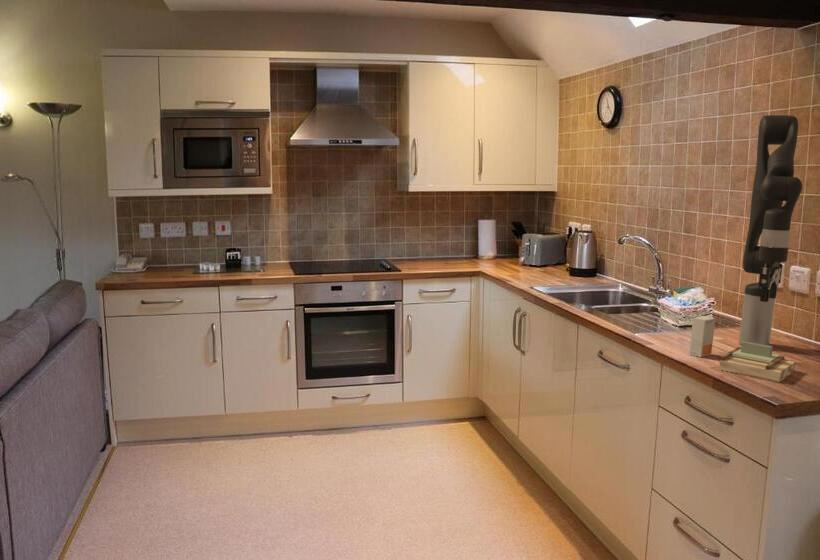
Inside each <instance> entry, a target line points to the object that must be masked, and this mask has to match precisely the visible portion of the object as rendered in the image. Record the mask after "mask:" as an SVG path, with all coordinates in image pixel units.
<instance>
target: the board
mask: <svg viewBox="0 0 820 560" xmlns="http://www.w3.org/2000/svg"><path fill="white" fill-rule="evenodd" d="M739 349H741V347H739V346H738V347H736V348H734V349H732V350H730V351H729V352H726V353H725V354H723V355H721V356H720V358H719V366H718V370H719V371H721V370H723V371H722V372H726V371H728V372H727V373H730V372H733V373H732V374H735V373H737V374H736V375H741V376H745V377H748V378H749V377H751V378H755V379H759V380H765V381H768V382H772V383H773V382H774V383H778V384H779V383H780V382H782V381H783V380H785V379H786V378H787V377H789V376H790V375H791V374H793V373H794V372H795V369H796V361H795V360H790V359H785V357H786V356H785V355H780V357H778V358H777V359H775V360H774V361H772V362H771V363H765V362H760V361H755V360H750V359H745V358H740V357H735V356H732V353H734V352H735V351H737V350H739Z"/></svg>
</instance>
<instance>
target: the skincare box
mask: <svg viewBox="0 0 820 560" xmlns="http://www.w3.org/2000/svg"><path fill="white" fill-rule="evenodd" d="M715 324H716V317H711V316H707V315H702V316H700V315H699V316H696V317H693V318H692V326H691V334H690V335H691V336H690V343H689V351H688V354H689V355H690V356H695V357H697V356H698V358H703V357H707V356H712V351H713V343H714V336H715V326H716V325H715Z"/></svg>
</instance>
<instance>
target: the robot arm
mask: <svg viewBox="0 0 820 560" xmlns="http://www.w3.org/2000/svg"><path fill="white" fill-rule="evenodd" d="M759 121H760V122H759V125H758V134H757V148H756V165H755V174H754V180H753V185H752V191H751V202H750V214H749V223H748V228H747V229H748V231H747V234H746V235H747V236H746V241H745V246H744V251H743V257H742V268H743V271H744V272H745V273H748V274H754V275H755V274H756V275H759V277H758V278H759V280H758V282H754V283H752V282H751V283H749V284H746V285H745V287H744V294H743V305H742V313H741V320H740V321H741V322H740V330H739V331H740V332H739V339H738V344H739V345H741V344H742V342H743V341H746V342H751V343H757V344H762V345H768V346H771V345H770V342H771V337H772V335H771V334H772V329H773V328H772V327H773V319H774V310H775V302H776V298H777V292H778V287H779V285H780V284H781V282H782V281H781V280H782V274H783V273H782V272H783V266H784V264H783V263H787V261H788V256H789V247H790V240H791V238H790V237H791V236H790V232H791V222H792V215H793V212H794V209H795V207H796V204H797V202H798V200H799V198H800V196H801V193H802V190H803V182H802V181H801V180H800V178H798V177H795V176H794V174H795V163H794V161H795V160H794V159H795V158H794V157H795V154H796V148H797V142H798V136H799V135H798V134H799V120H798V118H797V116H794V115H785V114H784V115H778V114H777V115H776V114H775V115H774V114H773V115H768V114H767V115H762V117H761V119H760V120H759ZM769 145H771V146H773V145H776V146H777V145H778V147H777V148H776V149H774V150H773V151H772V153H771V154H770V151H769ZM779 145H780V146H779ZM784 202H785V204H784ZM759 241H760V243H759Z"/></svg>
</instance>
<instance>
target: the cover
mask: <svg viewBox="0 0 820 560" xmlns="http://www.w3.org/2000/svg"><path fill="white" fill-rule="evenodd" d="M740 345H741V347H740V348H741V349H739V350H737V351H735V352H734V353H732V356H735V357H740V358H745V359H750V360H755V361H760V362H765V363H771V362H772V361H774V360H775V359H777V358H778V357H780V356H781V354H776V353H773V345H769V346H768V345H762V344H757V343H751V342H746V341H743V342H742V344H740Z"/></svg>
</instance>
